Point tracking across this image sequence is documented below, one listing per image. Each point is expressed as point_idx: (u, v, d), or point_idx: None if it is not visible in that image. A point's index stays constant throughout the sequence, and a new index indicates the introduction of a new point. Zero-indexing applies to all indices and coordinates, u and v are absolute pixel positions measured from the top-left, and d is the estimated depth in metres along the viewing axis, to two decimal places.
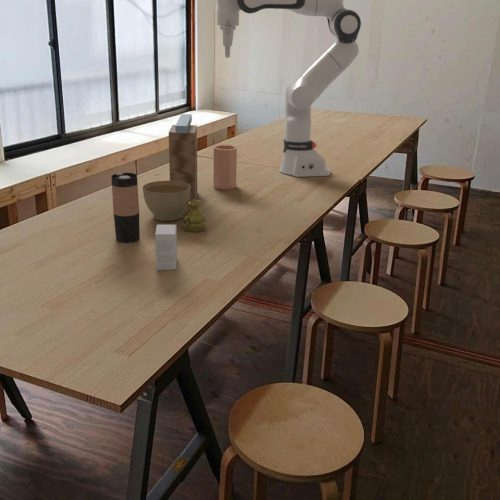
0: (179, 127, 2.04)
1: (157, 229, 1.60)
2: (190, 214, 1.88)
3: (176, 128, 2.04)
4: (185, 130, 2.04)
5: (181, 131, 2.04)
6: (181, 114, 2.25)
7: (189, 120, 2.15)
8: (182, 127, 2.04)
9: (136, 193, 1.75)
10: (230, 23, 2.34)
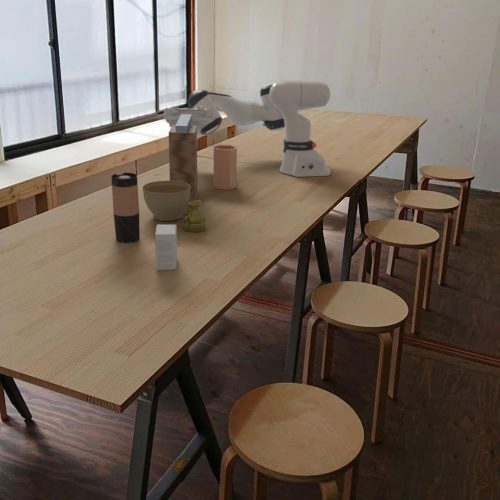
0: (179, 127, 2.04)
1: (157, 229, 1.60)
2: (190, 214, 1.88)
3: (176, 128, 2.04)
4: (185, 130, 2.04)
5: (181, 131, 2.04)
6: (181, 114, 2.25)
7: (189, 120, 2.15)
8: (182, 127, 2.04)
9: (136, 193, 1.75)
10: None
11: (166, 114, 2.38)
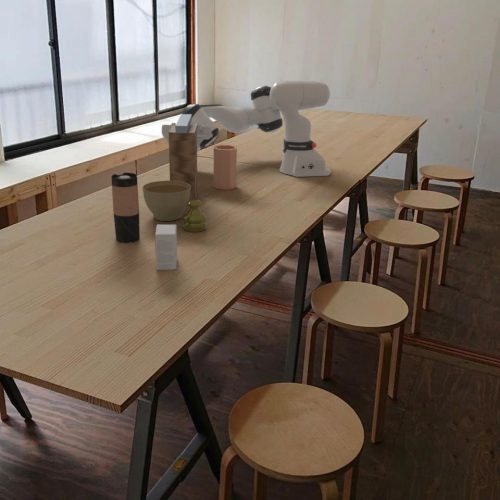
0: (179, 127, 2.04)
1: (157, 229, 1.60)
2: (190, 214, 1.88)
3: (176, 128, 2.04)
4: (185, 130, 2.04)
5: (181, 131, 2.04)
6: (181, 114, 2.25)
7: (189, 120, 2.15)
8: (182, 127, 2.04)
9: (136, 193, 1.75)
10: (198, 138, 2.45)
11: (164, 130, 2.37)
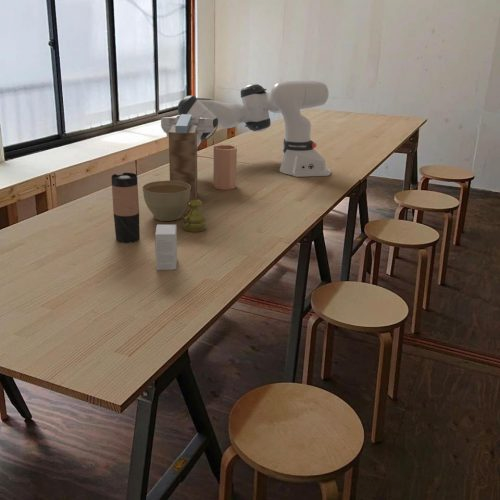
0: (179, 127, 2.04)
1: (157, 229, 1.60)
2: (190, 214, 1.88)
3: (176, 128, 2.04)
4: (185, 130, 2.04)
5: (181, 131, 2.04)
6: (181, 114, 2.25)
7: (189, 120, 2.15)
8: (182, 127, 2.04)
9: (136, 193, 1.75)
10: (198, 131, 2.36)
11: (163, 123, 2.28)
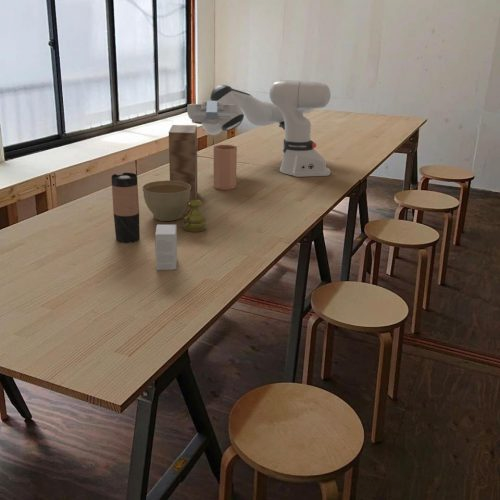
0: (210, 113, 2.13)
1: (157, 229, 1.60)
2: (190, 214, 1.88)
3: (207, 114, 2.13)
4: (215, 116, 2.14)
5: (211, 117, 2.14)
6: (207, 101, 2.34)
7: None
8: (212, 113, 2.13)
9: (136, 193, 1.75)
10: (222, 117, 2.46)
11: (190, 110, 2.37)
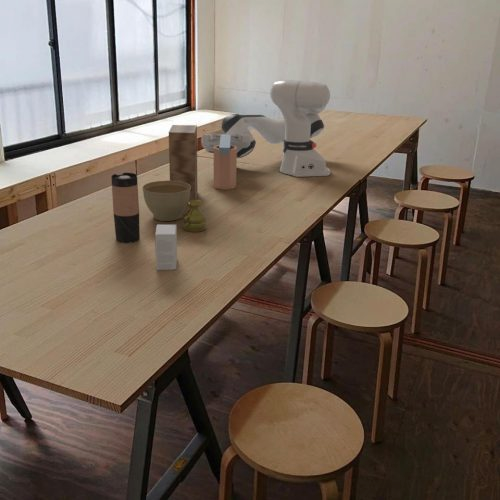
0: (222, 149, 2.19)
1: (157, 229, 1.60)
2: (190, 214, 1.88)
3: (220, 150, 2.19)
4: (228, 151, 2.20)
5: (224, 152, 2.20)
6: (221, 135, 2.41)
7: None
8: (225, 149, 2.19)
9: (136, 193, 1.75)
10: None
11: (204, 140, 2.43)
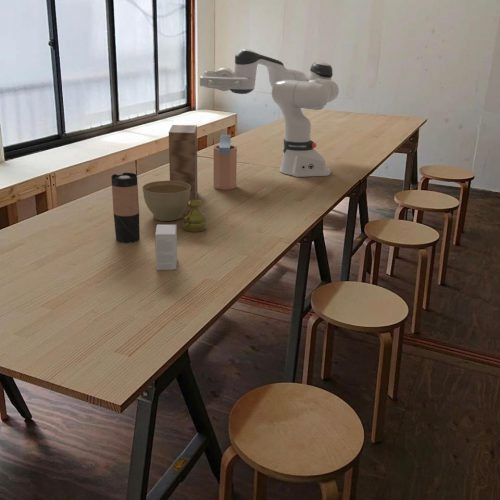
0: (222, 149, 2.19)
1: (157, 229, 1.60)
2: (190, 214, 1.88)
3: (220, 150, 2.19)
4: (228, 151, 2.20)
5: (224, 152, 2.20)
6: (221, 135, 2.41)
7: None
8: (225, 149, 2.19)
9: (136, 193, 1.75)
10: None
11: (202, 84, 2.43)
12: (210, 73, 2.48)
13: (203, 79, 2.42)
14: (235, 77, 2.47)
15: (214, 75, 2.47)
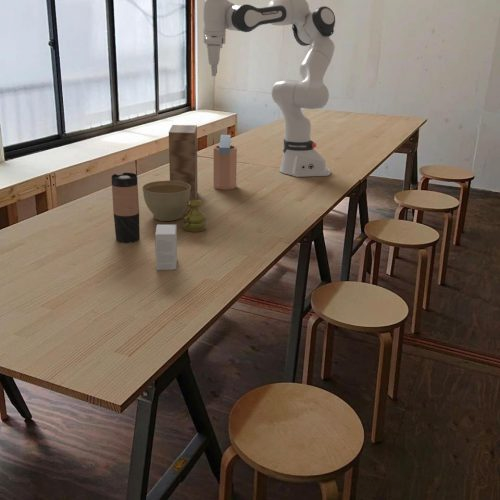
0: (222, 149, 2.19)
1: (157, 229, 1.60)
2: (190, 214, 1.88)
3: (220, 150, 2.19)
4: (228, 151, 2.20)
5: (224, 152, 2.20)
6: (221, 135, 2.41)
7: None
8: (225, 149, 2.19)
9: (136, 193, 1.75)
10: None
11: (211, 64, 2.32)
12: None
13: (216, 64, 2.32)
14: None
15: None
